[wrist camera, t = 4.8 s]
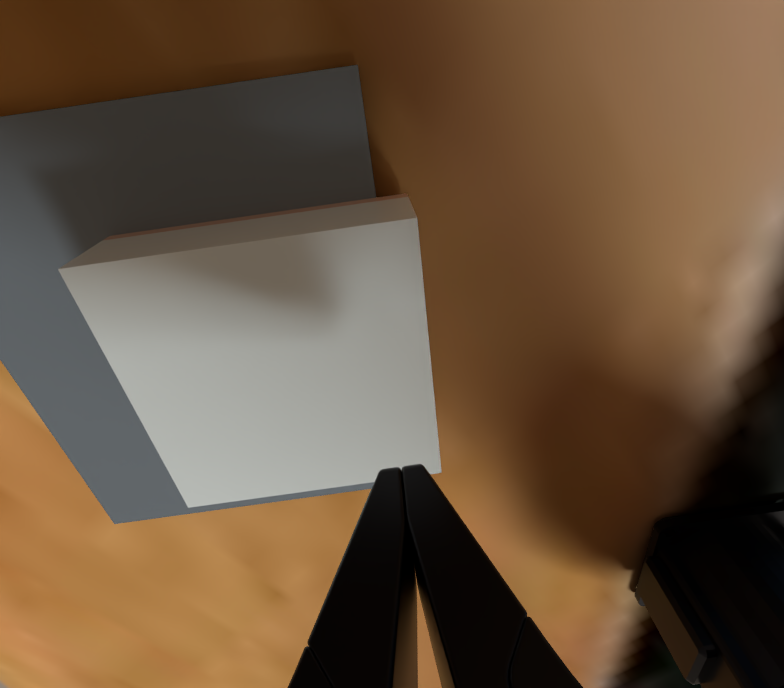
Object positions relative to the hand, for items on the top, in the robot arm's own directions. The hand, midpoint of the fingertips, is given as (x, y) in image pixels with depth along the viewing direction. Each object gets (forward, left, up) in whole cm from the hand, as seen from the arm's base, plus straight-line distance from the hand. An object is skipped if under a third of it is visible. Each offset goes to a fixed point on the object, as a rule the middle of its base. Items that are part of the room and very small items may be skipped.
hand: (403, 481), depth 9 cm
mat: (+6, 0, -6) cm, 9 cm away
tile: (-1, 0, -5) cm, 5 cm away
